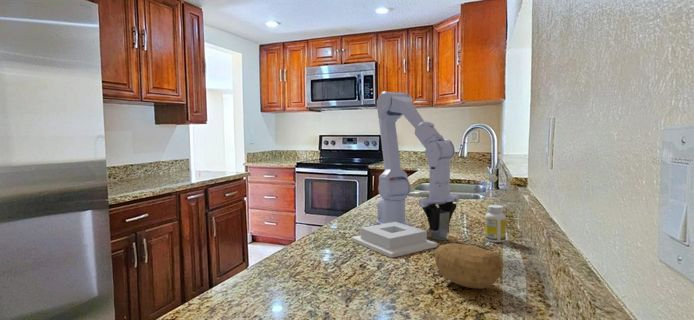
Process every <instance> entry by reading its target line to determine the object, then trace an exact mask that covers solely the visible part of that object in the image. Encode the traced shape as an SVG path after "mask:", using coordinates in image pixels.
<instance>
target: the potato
mask: <svg viewBox="0 0 694 320" xmlns="http://www.w3.org/2000/svg"><path fill="white" fill-rule="evenodd" d="M434 251H435V252H434V255H433V256H434V260H435V264H436V268H437V269H438V271H439V272H440V274H441V275H442V276H443V278H445V279H446V280H448V281H449V282H451V283H454V284H457V285H459V286H462V287H464V288H468V289H478V290H482V289H486V288H489V287H491V286H493V285H494V284H495V283H496V282H497V281H498V279H499V277H500V276H501V275H502V272H503V269H504V262H503V259H502V258H501V257H500V256H499V254H497V253H495V252H494V251H492V250H488V249H484V248H482V247H478V246H476V245H472V244H461V243H456V242H455V243H454V242H452V243H451V242H450V243H445V244H442V245H439V246H437V247H436V249H435V250H434Z"/></svg>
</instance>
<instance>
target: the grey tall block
mask: <svg viewBox="0 0 694 320" xmlns="http://www.w3.org/2000/svg"><path fill="white" fill-rule="evenodd" d="M449 215H450V212H448V211H443V210H441V211H440V214H439V218H438V228H437V231H434V230H430V226H429V225H428V226H429V227H428V231H429V232H430V233H431V239H432V240H435V241H439V242H440V241H444V240H445V241H446V240H447V238H448V234H449V233H450V223H449Z"/></svg>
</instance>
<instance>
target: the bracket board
mask: <svg viewBox="0 0 694 320" xmlns="http://www.w3.org/2000/svg"><path fill="white" fill-rule="evenodd" d="M427 235H428V231H427V230H425V229H422V228H418V227H415V226H412V225H405V224H402V223H399V222H391V223H385V224H376V225H371V226H370V225H369V226H365V227H360V235H356V236H351V237H350V239H351V240H350V241H352V242H354V243H356V244H358V245H360V246H363V247H366V248H368V249H370V250H372V251H375V252H376V253H379V254H382V255H383V256H387V257H389V258H391V259H392V258H397V257H400V256H405V255H409V254H412V253H413V254H414V253H418V252H421V251H425V250H428V249H429V250H430V249H434V248H438V242H437V241H433V240H429V239H428V238H427V237H428V236H427Z"/></svg>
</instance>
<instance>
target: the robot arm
mask: <svg viewBox="0 0 694 320" xmlns="http://www.w3.org/2000/svg"><path fill="white" fill-rule="evenodd" d="M413 102H414V99H413V98H412V97H411V96H410V94H409V93H407V92H393V91H385V90H384V91H382V92H381V93H380V94H379V96H378V98H377V100H376V108H377V116H378V125H379V131H380V132H379V133H380V134H379V135H380V140H381V141H380V143H381V150H382V156H383V166H384V171H383V172H382V173H381V174H380V175H379V176H378V187H377V189H378V194H379V195H380V199H379V200H378V202H377V220H376V221H375V224H377V225H380V224H385V223H391V222H399V223H402V224H405V225H409V226H412V223H409V222H406V199H407V198H408V196H409V194H410V193H411V189H412V188H411V183H410V181H409V177H408V174H407V172H406V171H404V170H403V169H402V166H401V165H402V164H401V158H400V152H399V143H398V135H397V127H396V126H397V125H396V122H397V121H398V120H399V119H401V118H402V117H403V116H404V118H405V119H406V120H407V121H408V122H409V123H410V125H412V126H413V128H414V135H415V137H416V138H417V140H418V141H419V142H420V143H421V145H422V146H423V147H424V149H425V150H424V155H425V157H426V159H427V165H428V167H429V188H428V189H429V192H428V193H429V196H426V197H424V198H420V199H418V207H421V208H422V209H423V212H424V213H425V215H426V218H427V221H428V226H430V230H434V231H437V228H438V218H439V214H440V211H441V210H443V211H448V212H450V215H449V224H450V222H451V219H452V217H453V215H454V212H455V211H456V209H457V206H458V205H457V203H460V195H459V194H451V190H450V189H451V159H452V158H453V157H454V155H455V151H456V150H455V146H454V144H453V142H452V141H451V140H450V139H446V138H444V137H443V135H442V134H440V132H439V131H438V130H437V129H436V127H435V125H434V123H433V122H430V121H425V120H424V118H423V117H422V115H421V114H420V113H419V111H418V110H417V108H416V107H415V105H414V104H413ZM454 202H455V203H454Z"/></svg>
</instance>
